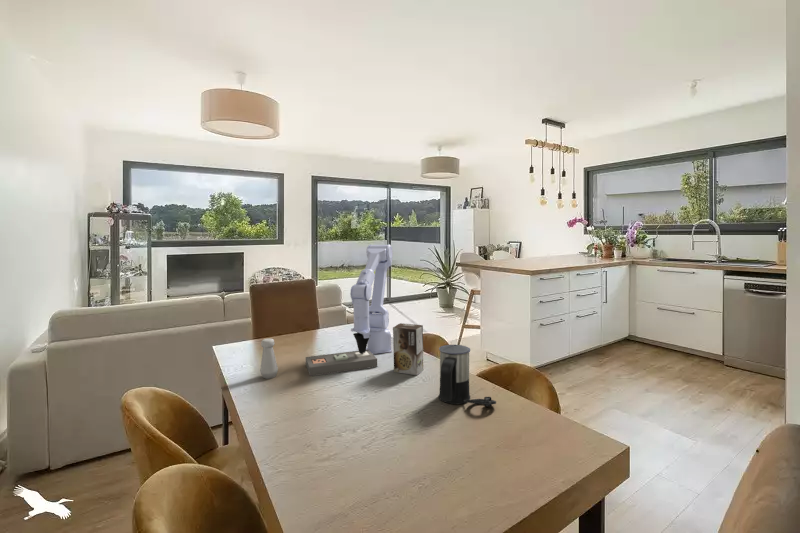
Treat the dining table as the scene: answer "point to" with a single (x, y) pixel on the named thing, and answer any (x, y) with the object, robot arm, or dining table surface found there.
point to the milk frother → (456, 376)
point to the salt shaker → (268, 359)
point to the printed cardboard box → (408, 348)
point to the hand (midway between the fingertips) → (362, 352)
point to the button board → (339, 363)
